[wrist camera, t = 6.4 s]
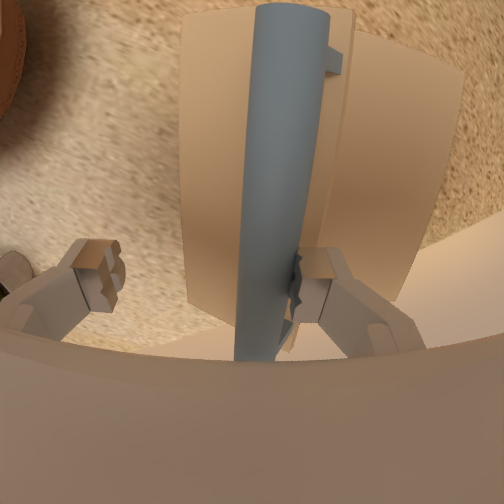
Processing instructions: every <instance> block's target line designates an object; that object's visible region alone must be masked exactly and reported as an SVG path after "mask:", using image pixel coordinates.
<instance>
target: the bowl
mask: <svg viewBox="0 0 504 504" xmlns="http://www.w3.org/2000/svg"><path fill="white" fill-rule="evenodd" d="M26 47H27V38H26V28H25V17H24V15H23V13H22V11H21V10H20V8H19V6H18V4H17V3H16V1H15V0H0V120H1V119H2V117H3V116H4V114H5V113H6V111H7V110H8V108H9V107H10V105H11V103H12V100H13V98H14V95H15V92H16V89H17V86H18V84H19V81H20V79H21V76H22V72H23V65H24V58H25V52H26Z"/></svg>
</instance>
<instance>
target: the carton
mask: <svg viewBox="0 0 504 504" xmlns="http://www.w3.org/2000/svg"><path fill="white" fill-rule="evenodd" d="M464 80H465V72H464V71H462V70H460V69H458V68H456V67H454V66H452V65H450V64H448V63H446V62H444V61H442V60H440V59H437V58H435V57H433V56H431V55H428V54H426V53H424V52H421V51H419V50H416V49H414V48H411V47H408V46H406V45H403V44H400V43H398V42H395V41H392V40H389V39H386V38H383V37H380V36H376V35H373V34H370V33H366V32H363V31H359V30H355V33H354V43H353V53H352V62H351V71H350V79H349V87H348V95H347V102H346V109H345V115H344V122H343V128H342V135H341V141H340V147H339V152H338V158H337V164H336V169H335V174H334V180H333V185H332V190H331V195H330V200H329V205H328V210H327V214H326V219H325V224H324V228H323V233H322V237H321V242H320V246H319V247H338V248H340V249H341V251H342V254H343V256H344V258H345V260H346V262H347V265H348V267H349V269H350V271H351V274H352V276H353V278H354V279H358V280H360V281H361V282H363V283H364V284H365V285H367V286H368V287H369V288H371V289H372V290H374V291H375V292H376V293H378V294H379V295H380V296H382V297H383V298H384V299H386V300H387V301H388V302H394V301H395V300H396V298H397V296H398V294H399V292H400V290H401V288H402V286H403V284H404V282H405V279H406V277H407V275H408V273H409V270H410V268H411V266H412V264H413V261H414V259H415V256H416V254H417V252H418V249H419V247H420V244H421V242H422V239H423V237H424V234H425V231H426V229H427V226H428V223H429V221H430V218H431V215H432V212H433V209H434V206H435V203H436V200H437V197H438V194H439V191H440V188H441V185H442V181H443V178H444V174H445V171H446V167H447V164H448V160H449V156H450V152H451V148H452V144H453V140H454V136H455V131H456V126H457V122H458V117H459V111H460V106H461V100H462V94H463V87H464Z"/></svg>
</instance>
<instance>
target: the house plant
mask: <svg viewBox="0 0 504 504" xmlns="http://www.w3.org/2000/svg"><path fill="white" fill-rule="evenodd" d="M32 276H33V271H32V267H31V265H30V263H29V262H28V260H27V259H26V258H25V257H24V256H22V255H21V254H19V253H18V252H15V251H10V252H8V253H7V254H6V255H5V256H3V257H2V258H1V259H0V302H1V300H2V299H3V298H4V297H6V296H7V295H9V294H10V293H12V292H13V291H15V290H16V289H18V288H19V287H21V286H22V285H24V284H26V283H27V282H29V281H30V280H31V279H32Z"/></svg>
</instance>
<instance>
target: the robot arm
mask: <svg viewBox="0 0 504 504" xmlns="http://www.w3.org/2000/svg"><path fill="white" fill-rule="evenodd" d="M120 252H121V248H120V245H119V242H118V241H117V240H108V239H89V238H79V239H76V240H75V242H74V243H73V244H72V246H71V247H70V248H69V250H68V251H67V253H66V254H65V255H64V257H63V258H62V260H61V261H60V262H59V264H58V265H57V267H51V268H50V269H48V270H46V271H45V272H43V273H42V274H40V275H38V276H37V277H35V278H33V279H32V280H30V281H29V282H27V283H26V284H24V285H22V286H21V287H19V288H18V289H16V290H15V291H13V292H12V293H10V294H9V295H7V296H6V297H4V298H3V299H2V300H1V302H0V504H504V333H501V334H497V335H493V336H489V337H485V338H481V339H476V340H472V341H467V342H462V343H457V344H452V345H447V346H441V347H435V348H429V349H427V348H426V346H425V344H424V342H423V340H422V338H421V335H420V333H419V331H418V329H417V327H416V325H415V323H414V321H413V320H412V319H411V318H410V317H408V316H407V315H406V314H404V313H403V312H402V311H400V310H399V309H398V308H396V307H395V306H394V305H392V304H391V303H390V302H388V301H387V300H386V299H384V298H383V297H382V296H380V295H379V294H378V293H376V292H375V291H374V290H372V289H371V288H369V287H368V286H367V285H365V284H364V283H363V282H361V281H360V280H358V279H354V278H353V276H352V274H351V271H350V269H349V267H348V265H347V262H346V260H345V258H344V256H343V254H342V251H341V249H340V248H338V247H298V249H297V250H296V252H295V258H294V263H293V268H292V269H293V272H294V273H293V275H292V277H291V279H290V284H289V289H288V297H289V298H290V299H291V302H290V313H291V319H292V323H318V325H319V326H320V327H321V328H322V329H323V330H324V331H325V332H326V334H327V335H328V336H329V337H330V338H331V339H332V340H333V341H334V342H335V344H336V345H337V346H338V347H339V348H340V349H341V350H342V352H343V353H344V354H345V355H346V356H347V357H348V358H344V359H330V360H310V361H222V360H202V359H186V358H174V357H163V356H152V355H144V354H135V353H127V352H120V351H113V350H106V349H100V348H94V347H88V346H82V345H77V344H72V343H66V342H62V341H61V340H62V339H63V338H64V337H65V336H66V335H67V334H68V333H69V332H70V331H71V330H72V329H73V328H74V327H75V326H76V325H77V324H78V323H79V322H80V321H82V320H83V319H84V318H85V317H86V316H87V315H88V314H89V313H90V311H93V312H104V313H112V312H113V310H114V307H115V305H116V302H117V300H118V297H117V294H116V293H117V292H119V291H120V290H122V288H123V285H124V282H125V275H126V274H125V265H124V262H123V261H122V260H121V259H120V257H119V254H120Z"/></svg>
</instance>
